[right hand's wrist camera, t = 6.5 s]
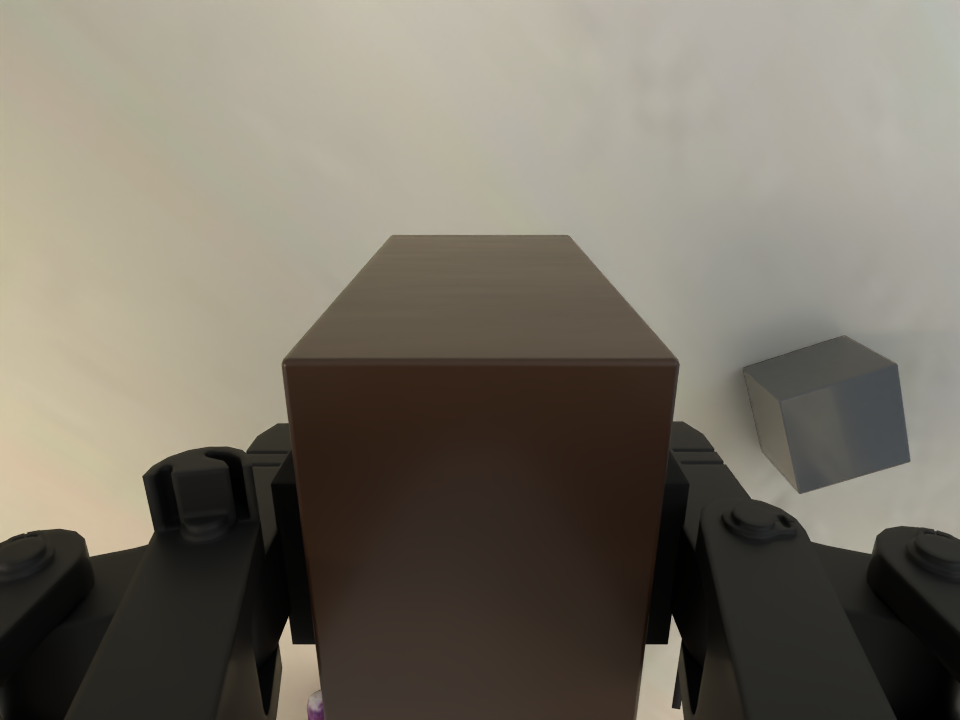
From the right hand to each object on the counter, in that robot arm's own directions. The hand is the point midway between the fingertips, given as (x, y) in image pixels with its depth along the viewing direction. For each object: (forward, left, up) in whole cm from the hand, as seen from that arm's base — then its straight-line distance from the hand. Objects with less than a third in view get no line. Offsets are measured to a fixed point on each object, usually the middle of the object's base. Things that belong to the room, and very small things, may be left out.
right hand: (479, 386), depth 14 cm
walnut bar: (0, -8, 0) cm, 9 cm away
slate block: (+16, -7, -15) cm, 23 cm away
